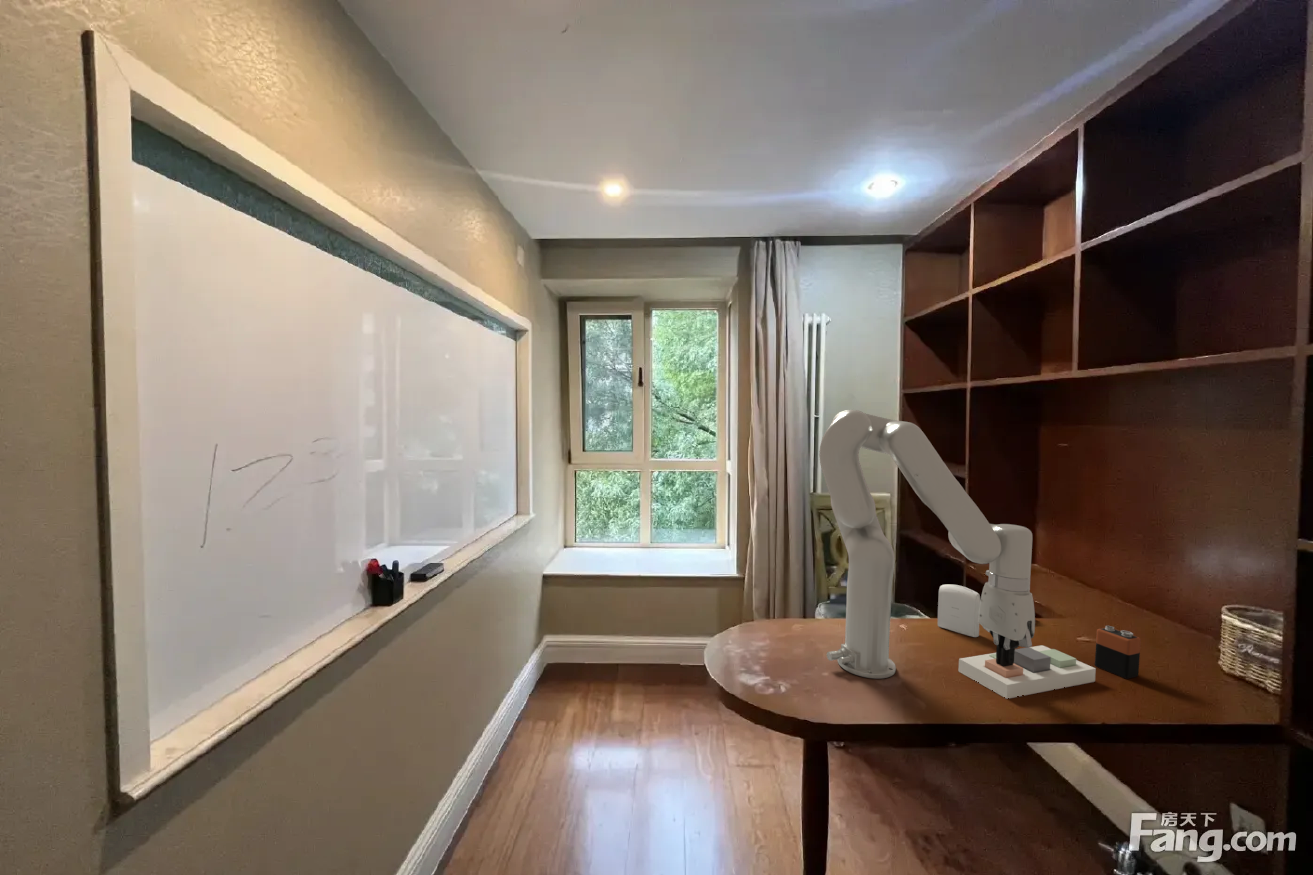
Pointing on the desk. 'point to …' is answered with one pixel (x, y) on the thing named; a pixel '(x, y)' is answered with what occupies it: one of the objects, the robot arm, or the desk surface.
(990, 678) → the white flat slab
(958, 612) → the photo printer
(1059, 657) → the sage key
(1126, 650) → the battery
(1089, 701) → the desk surface
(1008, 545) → the robot arm
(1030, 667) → the charcoal key
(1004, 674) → the terracotta key
